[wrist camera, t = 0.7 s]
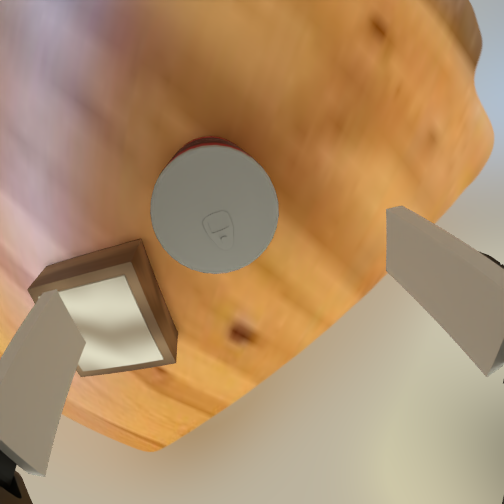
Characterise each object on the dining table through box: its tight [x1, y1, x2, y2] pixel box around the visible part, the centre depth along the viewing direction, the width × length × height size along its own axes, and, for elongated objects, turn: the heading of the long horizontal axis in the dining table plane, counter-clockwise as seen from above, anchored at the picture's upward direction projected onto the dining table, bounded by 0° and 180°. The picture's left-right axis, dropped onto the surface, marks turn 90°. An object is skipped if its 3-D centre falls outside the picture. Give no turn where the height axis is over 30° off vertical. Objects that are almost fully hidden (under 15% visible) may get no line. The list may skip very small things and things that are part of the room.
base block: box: [27, 239, 178, 377], centre depth 29 cm, size 12×12×5 cm
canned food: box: [151, 136, 279, 274], centre depth 23 cm, size 8×8×11 cm
